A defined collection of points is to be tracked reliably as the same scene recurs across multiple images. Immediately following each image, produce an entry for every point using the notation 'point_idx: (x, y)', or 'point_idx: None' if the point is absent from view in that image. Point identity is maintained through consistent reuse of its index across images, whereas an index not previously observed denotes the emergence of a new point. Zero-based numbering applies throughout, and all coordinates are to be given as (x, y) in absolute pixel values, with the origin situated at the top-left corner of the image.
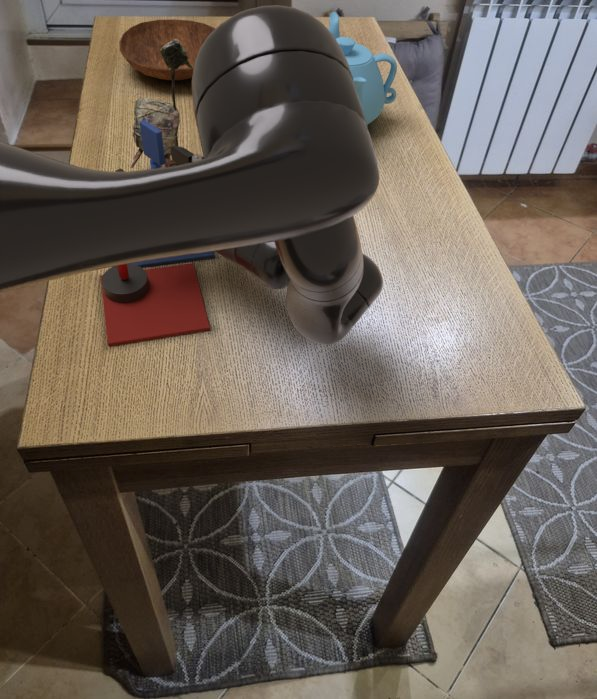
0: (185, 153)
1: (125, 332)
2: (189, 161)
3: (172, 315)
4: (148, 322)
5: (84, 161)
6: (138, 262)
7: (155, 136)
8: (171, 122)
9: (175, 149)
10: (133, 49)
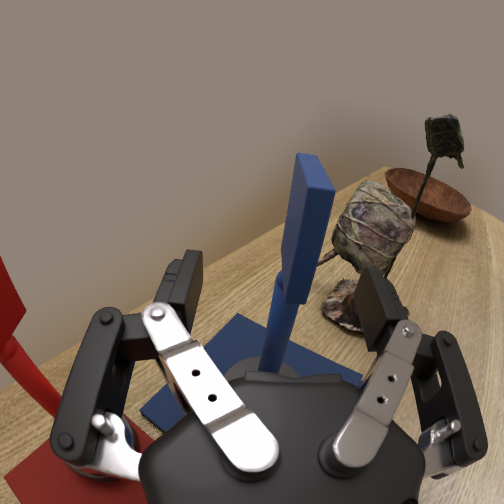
0: (387, 302)
1: (27, 492)
2: (383, 329)
3: None
4: None
5: (280, 234)
6: (165, 422)
7: (303, 199)
8: (397, 232)
9: (370, 278)
10: (396, 181)
